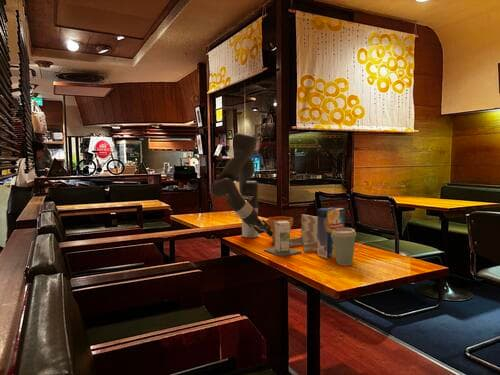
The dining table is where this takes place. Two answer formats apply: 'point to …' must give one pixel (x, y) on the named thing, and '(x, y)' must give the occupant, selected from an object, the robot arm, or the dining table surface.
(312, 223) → the cubby
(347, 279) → the dining table surface
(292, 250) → the mat
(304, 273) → the dining table surface
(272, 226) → the flower pot
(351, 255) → the disposable coffee cup
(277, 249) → the syrup box
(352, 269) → the dining table surface
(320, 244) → the beverage box
